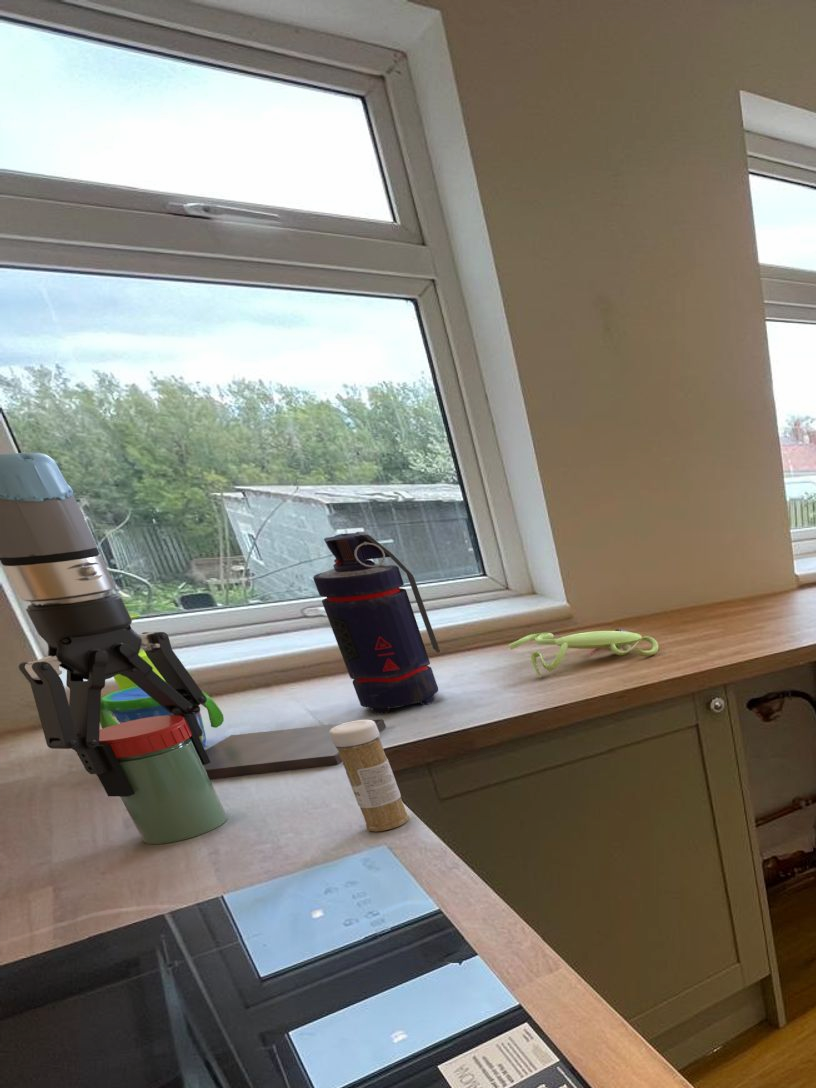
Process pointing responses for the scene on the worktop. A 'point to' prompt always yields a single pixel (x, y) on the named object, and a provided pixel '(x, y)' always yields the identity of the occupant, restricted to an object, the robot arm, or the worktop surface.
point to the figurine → (587, 644)
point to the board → (274, 751)
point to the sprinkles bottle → (369, 774)
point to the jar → (171, 794)
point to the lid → (145, 735)
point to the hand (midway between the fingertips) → (161, 778)
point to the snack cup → (146, 709)
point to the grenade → (376, 624)
